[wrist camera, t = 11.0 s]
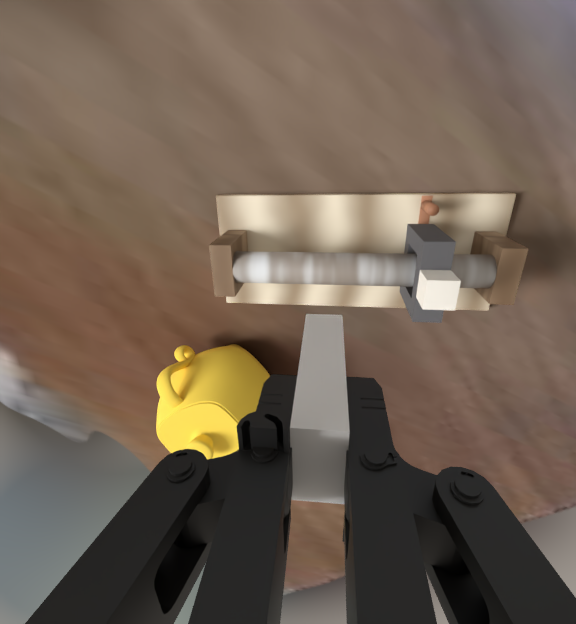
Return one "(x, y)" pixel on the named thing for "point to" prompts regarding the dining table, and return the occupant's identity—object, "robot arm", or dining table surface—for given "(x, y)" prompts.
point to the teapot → (207, 398)
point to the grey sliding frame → (430, 274)
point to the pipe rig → (359, 247)
